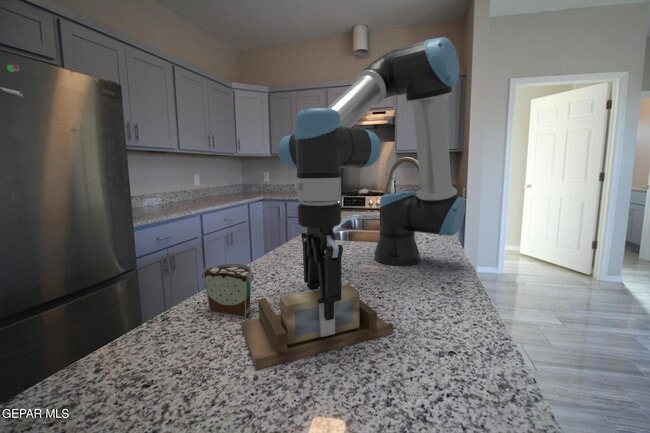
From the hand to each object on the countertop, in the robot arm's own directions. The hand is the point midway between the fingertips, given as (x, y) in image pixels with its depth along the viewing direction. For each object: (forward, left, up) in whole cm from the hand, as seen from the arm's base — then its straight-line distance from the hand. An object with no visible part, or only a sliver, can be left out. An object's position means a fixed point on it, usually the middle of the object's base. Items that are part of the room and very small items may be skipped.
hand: (321, 327), depth 58 cm
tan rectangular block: (0, 0, 0) cm, 1 cm away
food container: (+13, -20, -2) cm, 24 cm away
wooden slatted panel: (0, -3, -2) cm, 4 cm away
